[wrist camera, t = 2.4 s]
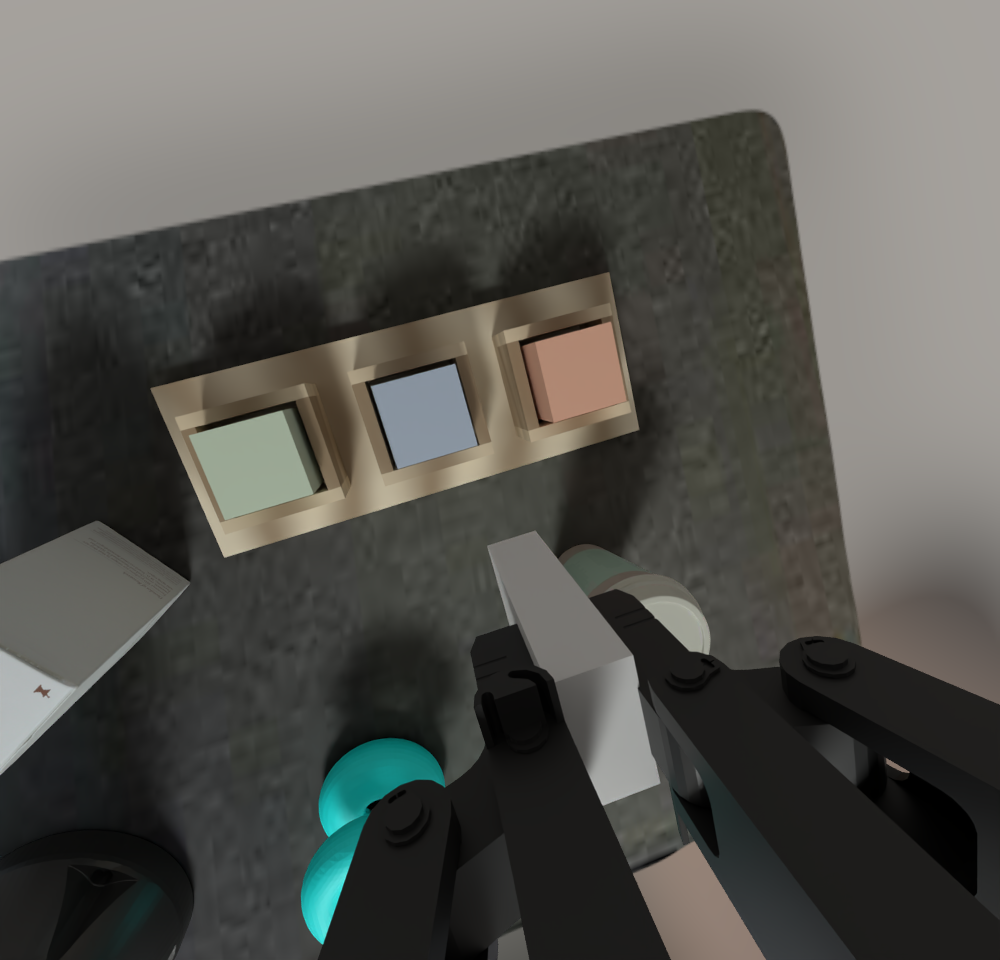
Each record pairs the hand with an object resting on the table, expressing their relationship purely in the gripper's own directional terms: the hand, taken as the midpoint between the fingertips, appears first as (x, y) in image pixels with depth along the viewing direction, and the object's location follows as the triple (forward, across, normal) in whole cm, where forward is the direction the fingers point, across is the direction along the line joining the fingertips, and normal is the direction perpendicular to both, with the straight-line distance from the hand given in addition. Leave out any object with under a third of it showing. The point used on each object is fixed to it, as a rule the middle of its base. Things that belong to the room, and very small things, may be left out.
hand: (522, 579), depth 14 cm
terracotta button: (+20, +9, +4) cm, 22 cm away
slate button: (+20, -1, +4) cm, 20 cm away
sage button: (+19, -11, +4) cm, 23 cm away
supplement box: (+22, -26, -2) cm, 34 cm away
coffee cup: (+23, +8, -13) cm, 28 cm away
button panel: (+23, -2, +4) cm, 23 cm away
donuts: (+22, -14, -25) cm, 36 cm away
